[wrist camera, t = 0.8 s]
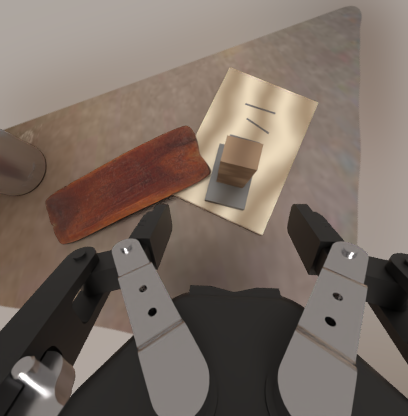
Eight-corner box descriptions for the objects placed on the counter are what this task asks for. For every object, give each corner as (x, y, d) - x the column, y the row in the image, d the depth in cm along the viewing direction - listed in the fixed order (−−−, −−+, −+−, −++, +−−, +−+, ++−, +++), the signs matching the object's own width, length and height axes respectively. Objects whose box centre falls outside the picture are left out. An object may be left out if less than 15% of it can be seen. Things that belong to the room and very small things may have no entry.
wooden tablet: (189, 125, 31) (187, 118, 29) (215, 176, 29) (214, 172, 27) (45, 194, 31) (35, 191, 29) (61, 249, 29) (51, 250, 27)
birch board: (169, 193, 30) (167, 191, 29) (229, 74, 33) (230, 67, 32) (259, 234, 29) (262, 235, 28) (313, 108, 32) (318, 102, 30)
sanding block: (204, 200, 29) (204, 185, 19) (218, 147, 30) (224, 108, 20) (242, 210, 28) (260, 199, 19) (255, 156, 29) (278, 120, 20)
